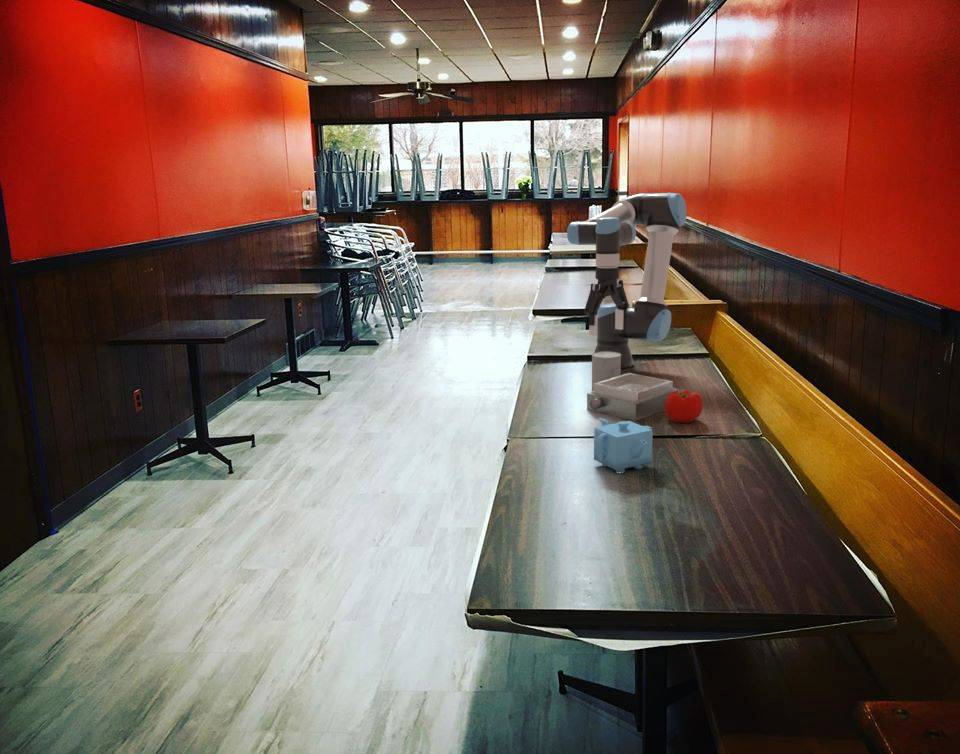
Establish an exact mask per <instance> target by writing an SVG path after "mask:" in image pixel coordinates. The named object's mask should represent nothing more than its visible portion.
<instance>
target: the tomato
mask: <svg viewBox="0 0 960 754" xmlns="http://www.w3.org/2000/svg"><path fill="white" fill-rule="evenodd" d="M703 405H704V403H703V398H702V396H701V394H700V393H698V392H696V391H695V392H693V393H692V392H691V391H689V389H687V390H686V389H685V390H682V391H681V390H678V392H677V391H674V392H672V393H670V394H669V395H668V397H667V399H666V401H665V405H664V406H665V410H664V412H665V413H666V415H667V417H668V418H669V420H671V421H673V422H674V423H683V424H688V423H691V422H692V421H694V420H695V419H698V418H699V417H700V416H701V414H702V413H703V412H702V411H703V410H704V406H703Z"/></svg>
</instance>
